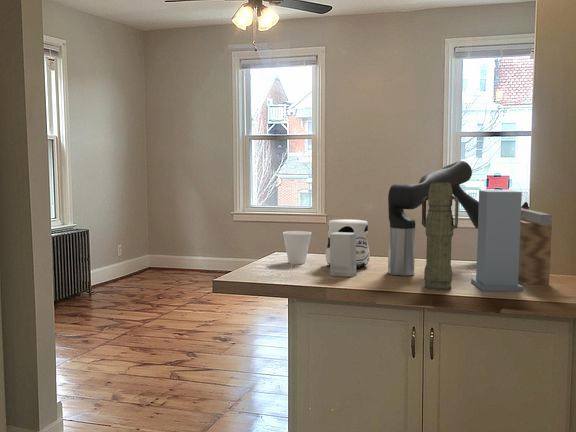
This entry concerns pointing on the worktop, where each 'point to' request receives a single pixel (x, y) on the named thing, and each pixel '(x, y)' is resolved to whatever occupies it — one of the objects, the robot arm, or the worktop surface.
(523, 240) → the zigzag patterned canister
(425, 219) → the thermos
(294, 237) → the cup
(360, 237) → the milk container
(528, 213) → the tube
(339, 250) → the skincare box
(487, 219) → the gray pedestal
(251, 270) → the worktop surface
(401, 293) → the worktop surface
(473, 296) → the worktop surface
